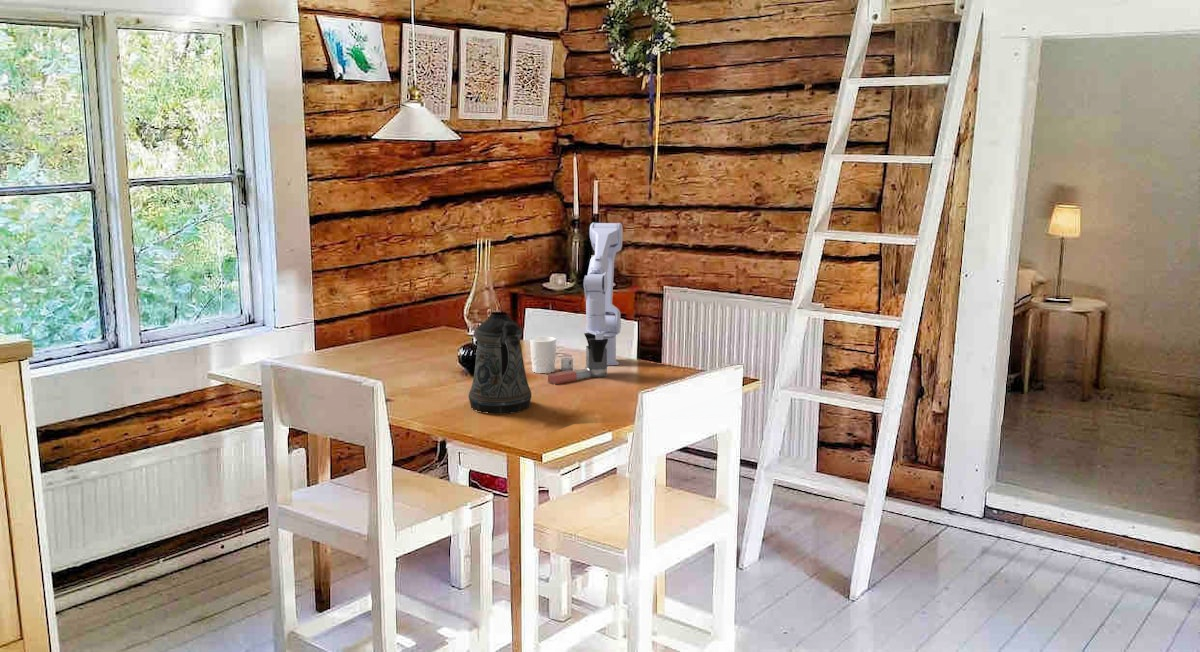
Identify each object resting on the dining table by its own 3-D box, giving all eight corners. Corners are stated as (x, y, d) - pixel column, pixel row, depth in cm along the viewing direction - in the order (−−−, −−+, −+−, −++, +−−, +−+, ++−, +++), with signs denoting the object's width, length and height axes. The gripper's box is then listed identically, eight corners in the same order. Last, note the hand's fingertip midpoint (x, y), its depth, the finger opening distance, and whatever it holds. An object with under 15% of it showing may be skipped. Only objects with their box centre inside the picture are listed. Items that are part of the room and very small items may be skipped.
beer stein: (497, 395, 275) (495, 305, 270) (553, 405, 264) (551, 312, 259) (455, 408, 262) (452, 314, 257) (512, 419, 251) (510, 321, 246)
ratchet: (597, 371, 302) (597, 354, 301) (611, 375, 298) (611, 357, 297) (544, 381, 290) (544, 363, 289) (557, 385, 285) (557, 366, 284)
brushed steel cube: (586, 365, 300) (586, 345, 299) (604, 364, 301) (604, 345, 300) (588, 369, 295) (588, 349, 293) (606, 368, 295) (606, 348, 294)
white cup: (552, 374, 299) (552, 342, 297) (527, 373, 301) (526, 341, 299) (559, 369, 307) (558, 337, 305) (534, 368, 308) (533, 336, 306)
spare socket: (560, 370, 304) (560, 358, 303) (572, 370, 305) (572, 357, 304) (561, 373, 301) (561, 360, 300) (573, 373, 301) (573, 360, 300)
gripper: (613, 317, 288) (613, 363, 291) (605, 309, 302) (605, 353, 305) (588, 318, 287) (589, 364, 290) (582, 310, 301) (582, 354, 304)
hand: (596, 359), depth 297 cm, fingers open, 7 cm apart
